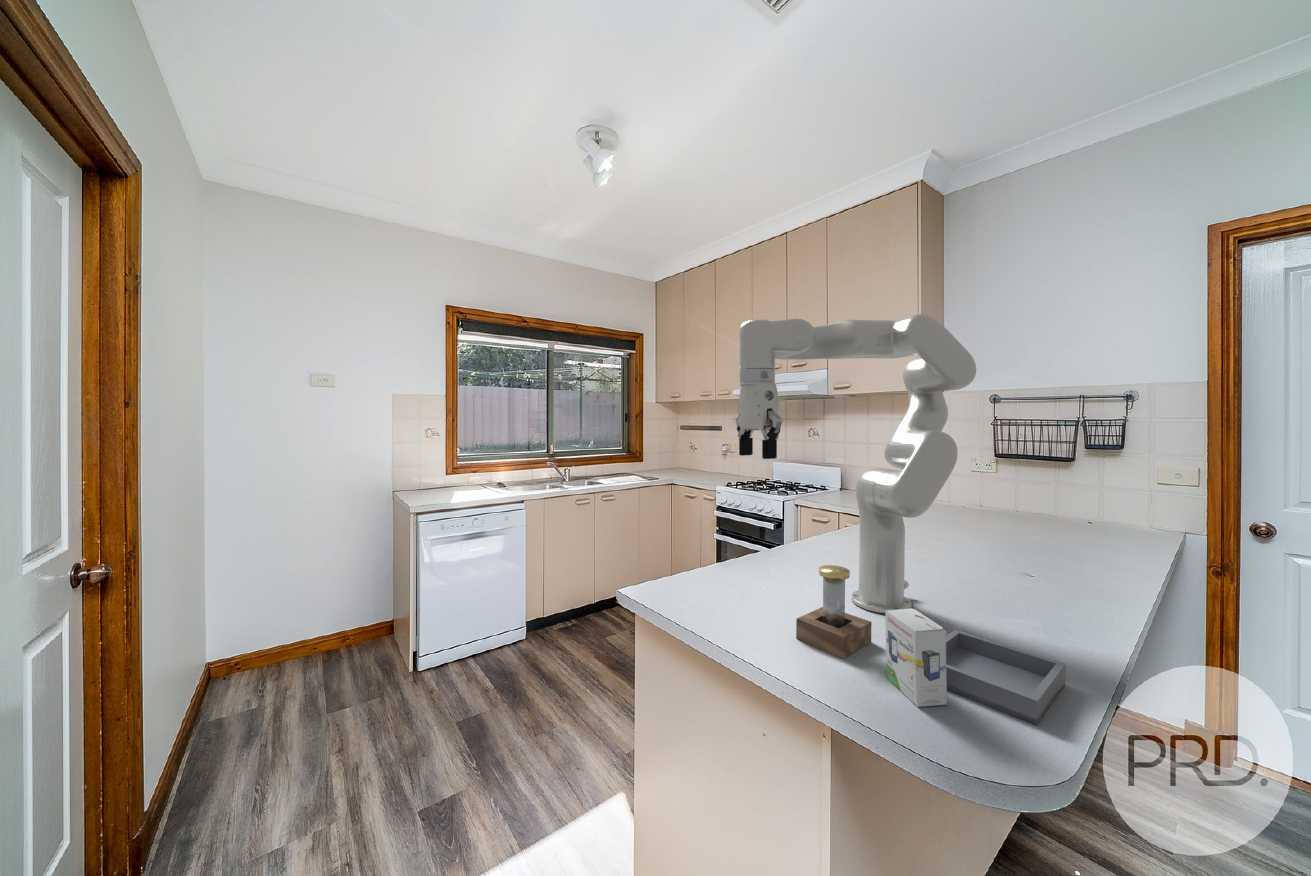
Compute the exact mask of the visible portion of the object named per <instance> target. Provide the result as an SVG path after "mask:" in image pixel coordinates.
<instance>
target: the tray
mask: <svg viewBox="0 0 1311 876" xmlns="http://www.w3.org/2000/svg"><path fill="white" fill-rule="evenodd" d="M1066 666H1067V665H1066V663H1063V662H1060V661H1056V660H1054V659H1051V658H1047V657H1045V656H1042V655H1038V654H1035V653H1032V652H1029V651H1026V650H1022V649H1018V648H1015V647H1012V646H1010V645H1009V646H1008V645H1005V644H1002V643H1001V642H1000V643H999V642H996V641H993V640H990V639H987V638H984V637H980V636H977V635H974V634H971V633H967V632H964V631H961V630H958V629H954V630H953V631H951V632H950V633H948V634H946V678H947V690H949V691H952V692H954V693H955V694H958V695H962V696H963V697H966V698H968V699H971V700H973V701H976V702H978V703H981V704H983V705H986V706H989V707H991V708H993V709H995V710H998V711H1000V712H1003V713H1005V714H1008V715H1011V716H1012V717H1015V718H1018V719H1020V720H1022V721H1025V722H1028V723H1030V724H1032V725H1035V726H1037V725H1038V724H1039V723H1040V721H1041V720H1042V719H1043V717H1044V716H1045V714H1046V713H1047V712H1048V710H1049V708H1050V707H1051V706H1052V704H1053V703H1054V702H1055V700H1056V699H1057V697H1058V696H1059V695H1060V694H1061V692H1062V691H1063V689H1064V687H1065V686H1066Z"/></svg>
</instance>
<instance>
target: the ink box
mask: <svg viewBox="0 0 1311 876" xmlns="http://www.w3.org/2000/svg"><path fill="white" fill-rule="evenodd" d="M885 612H886V614H885V656H886V657H885V660H886V661H885V664H886V665H885V666H886V679H887V680H888V681H890V683H891V684H893V686H895V687H896V688H897V689H898V690H899V691H900V692H901V693H902V694H903V695H904V696H905V697H907V698H908V699H909V700H910V701H911V702H912V703H913V704H914V705H916V708H917V707H919V708H920V707H921V708H922V707H932V706H945V705H946V706H947V705H948V698H947V697H948V693H947V692H948V691H947V690H948V689H947V678H946V636H947V631H946V630H945V629H944V628H943V627H942V626H941V625H939V624H938V623H937V622H935V621H934V620H932V619H931V618H929V617H928V616H925V615H924V614H923V613H921V612H920V611H919V610H917V609H915V608H911V609H898V610H886V611H885Z"/></svg>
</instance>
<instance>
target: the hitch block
mask: <svg viewBox="0 0 1311 876" xmlns="http://www.w3.org/2000/svg"><path fill="white" fill-rule="evenodd" d="M795 623H796V627H795V629H796V631H795V632H796V633H795V635H796V636H795V637H796V639H797V640H799V641H801V642H804V643H806V644H808V645H811V646H813V647H815V648H818V649H820V650H822V651H825V652H827V653H829V654H832V655H834V656H836V657H838V658H842V659H845V658H848V657H849V656H850V655H852V654H854V653H856V652H857V651H859V650H860V649H862V648H864V647H866V646H868V644H871V643H872V621H870V620H867V619H865V618H862V617H858V616H856V615H853V614H850V613H846V612H845V626H843V627H841V628H836V627H833V626H831V625H828V624H825V623H823V606H822V607H819V608H817V609H814V610H813V611H811V612H808V613H806V614H804V615H801V616H799V617H796V622H795Z"/></svg>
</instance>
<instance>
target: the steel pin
mask: <svg viewBox="0 0 1311 876" xmlns="http://www.w3.org/2000/svg"><path fill="white" fill-rule="evenodd" d="M850 573H851V571H850V570H849V569H848V568H847V567H845V566H840V565H835V564H834V565H833V564H831V565H830V564H829V565H827V564H825V565H820V566H819V567H818V574H819V576H821V577H822V607H823V623H825V624H828V625H831V626H833V627H836V628H841V627H843V626H845V613H846V580H848V579H849V578H850V577H851V576H850V575H851V574H850Z"/></svg>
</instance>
